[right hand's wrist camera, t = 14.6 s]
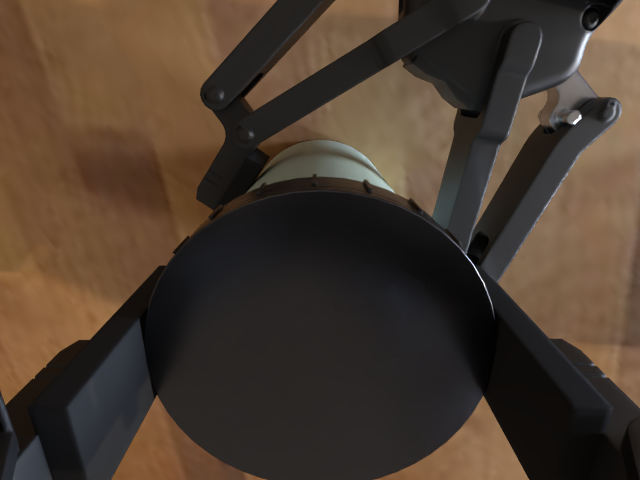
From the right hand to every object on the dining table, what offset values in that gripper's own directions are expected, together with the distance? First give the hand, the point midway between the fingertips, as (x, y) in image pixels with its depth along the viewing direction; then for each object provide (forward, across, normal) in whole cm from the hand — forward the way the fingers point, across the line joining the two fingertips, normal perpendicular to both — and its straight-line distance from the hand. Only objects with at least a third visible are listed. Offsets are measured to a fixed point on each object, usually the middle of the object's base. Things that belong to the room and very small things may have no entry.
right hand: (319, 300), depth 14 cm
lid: (-3, 0, 0) cm, 3 cm away
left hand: (+6, -3, -4) cm, 7 cm away
